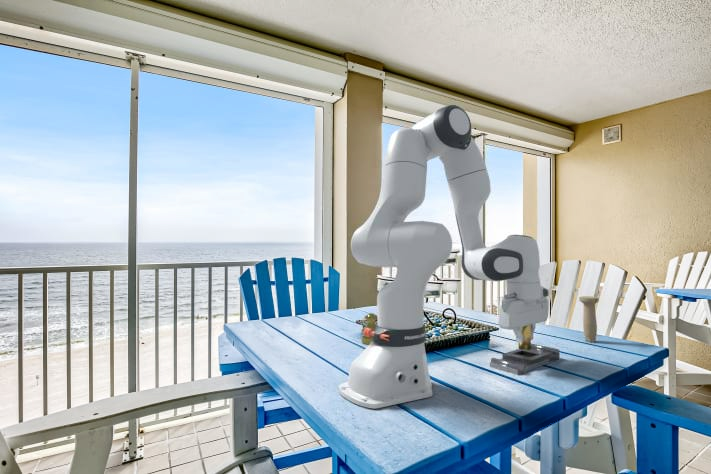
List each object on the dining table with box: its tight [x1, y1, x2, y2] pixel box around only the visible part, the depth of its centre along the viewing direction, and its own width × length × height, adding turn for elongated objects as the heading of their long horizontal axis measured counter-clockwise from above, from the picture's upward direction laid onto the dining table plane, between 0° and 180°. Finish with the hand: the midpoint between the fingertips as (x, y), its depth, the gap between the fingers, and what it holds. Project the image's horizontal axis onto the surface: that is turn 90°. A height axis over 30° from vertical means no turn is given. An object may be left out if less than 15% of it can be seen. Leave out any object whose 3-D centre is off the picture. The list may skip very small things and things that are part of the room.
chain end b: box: [502, 343, 561, 365], centre depth 103 cm, size 16×9×3 cm, turn 125°
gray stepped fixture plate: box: [489, 355, 549, 376], centre depth 100 cm, size 16×9×2 cm, turn 125°
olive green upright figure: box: [360, 312, 377, 345], centre depth 127 cm, size 7×7×10 cm
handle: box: [578, 295, 600, 343], centre depth 124 cm, size 5×6×15 cm
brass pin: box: [517, 325, 532, 350], centre depth 102 cm, size 3×3×7 cm
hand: (524, 340), depth 102 cm, fingers closed on brass pin, 3 cm apart
